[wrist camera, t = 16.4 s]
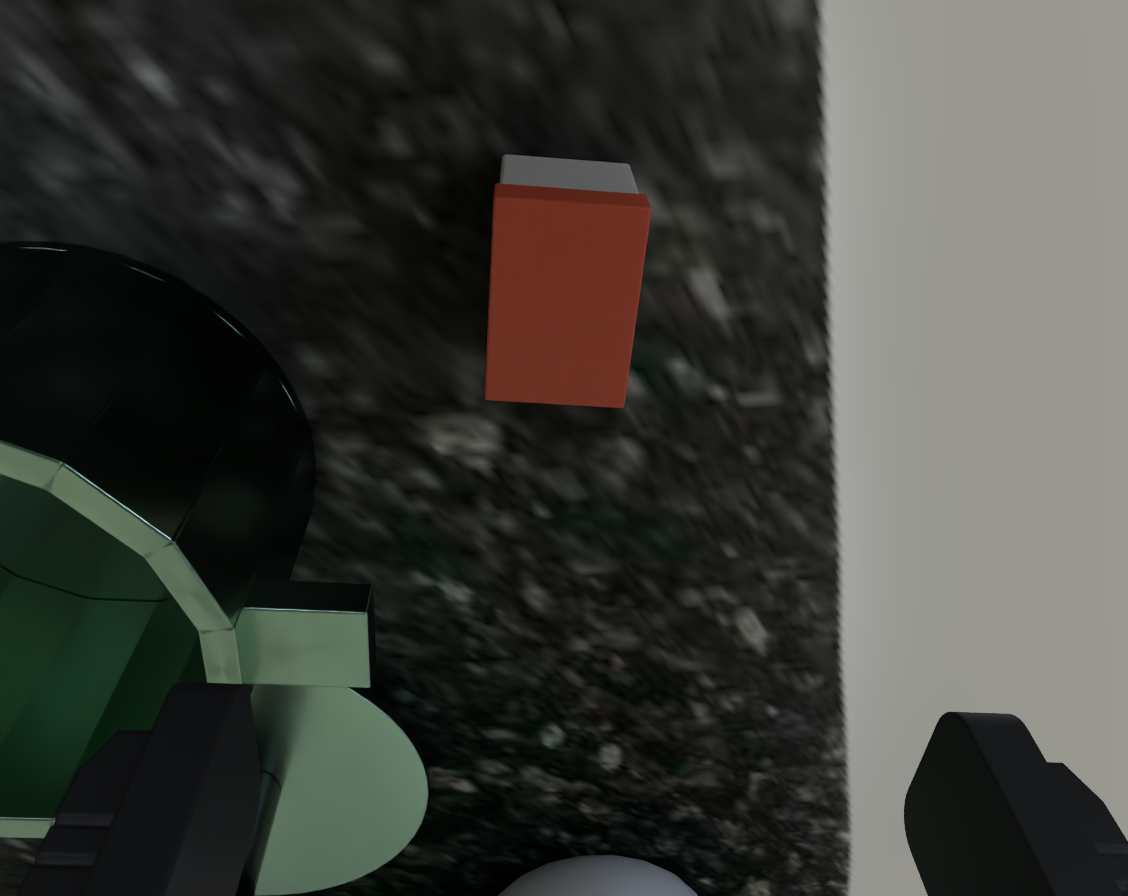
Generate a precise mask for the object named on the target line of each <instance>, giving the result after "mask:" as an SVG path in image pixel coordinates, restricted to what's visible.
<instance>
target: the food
mask: <svg viewBox="0 0 1128 896" xmlns="http://www.w3.org/2000/svg"><path fill="white" fill-rule="evenodd" d="M650 216H651V207H650V204H649V201H648V198H647V195H645V194H639V193H638V190H637V186H636V183H635V180H634V177H633V174H632V171H631V168H630V165H628V164H625V163H612V162H599V161H586V160H573V159H560V158H547V157H534V156H521V155H508V154H506V155H503V157H502V164H501V175H500V183H497V184H495V188H494V198H493V219H492V242H491V264H490V287H489V309H488V332H487V354H486V377H485V400H494V401H511V402H529V403H546V404H563V405H580V406H598V407H615V408H623V407H624V404H625V397H626V389H627V382H628V375H629V368H630V360H631V353H632V346H633V339H634V332H635V324H636V317H637V310H638V303H639V296H640V288H641V281H642V274H643V267H644V260H645V252H646V245H647V238H648V231H649V224H650Z"/></svg>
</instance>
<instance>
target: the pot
mask: <svg viewBox="0 0 1128 896" xmlns="http://www.w3.org/2000/svg"><path fill="white" fill-rule="evenodd" d="M314 486H315V455H314V448H313V441H312V436H311V432H310V429H309V426H308V423H307V419H306V416H305V413H304V411H303V408H302V406H301V404H300V402H299V400H298V398H297V396H296V393H295V391H294V389H293V387H292V386H291V384H290V382H289V381H288V379H287V378H286V376H285V375H284V373H283V371H282V370H281V368H280V367H279V365H278V364H277V362H276V361H275V360H274V359H273V357H272V356H271V355H270V354H269V353H268V351H267V350H266V349H265V348H264V346H263V345H262V344H261V343H260V342H259V340H258V339H257V338H256V337H255V336H253V335H252V334H251V333H250V332H249V331H248V330H247V329H246V328H245V327H244V326H243V325H242V324H241V323H240V322H239V321H238V320H237V319H236V318H235V317H233V316H232V315H231V314H229V313H228V312H227V311H226V310H224V309H223V308H222V307H220V306H219V305H218V304H217V303H215V302H214V301H213V300H211V299H210V298H209V297H207V296H205V295H204V294H202V293H201V292H199V291H197V290H196V289H194V288H192V287H191V286H189V285H188V284H186V283H184V282H183V281H181V280H179V279H177V278H175V277H173V276H171V275H169V274H167V273H165V272H162V271H160V270H158V269H156V268H154V267H152V266H150V265H147V264H144V263H142V262H139V261H136V260H133V259H130V258H128V257H125V256H122V255H119V254H116V253H112V252H108V251H103V250H99V249H95V248H91V247H87V246H81V245H73V244H65V243H57V242H31V241H17V242H8V243H0V837H5V838H45V836H46V834H47V832H48V830H49V828H50V826H53V825H54V823H55V816H56V814H57V812H58V810H59V808H60V806H61V804H62V802H63V800H64V798H65V796H66V794H67V792H68V789H69V787H70V785H71V783H72V781H73V779H74V777H75V775H76V773H77V771H78V769H79V768H80V767H81V766H82V765H83V764H85V763H86V762H87V761H88V760H89V759H90V758H91V757H92V756H93V755H94V754H95V753H96V752H97V751H98V750H99V749H100V748H101V747H102V746H103V745H104V744H105V743H106V742H107V741H108V740H109V739H110V738H111V737H112V736H113V735H114V734H115V733H116V732H117V731H118V730H135V731H151V730H152V727H153V725H154V723H155V721H156V718H157V716H158V714H159V711H160V709H161V707H162V705H163V702H164V700H165V698H166V696H167V694H168V692H169V690H170V688H171V687H172V686H173V685H174V684H175V683H176V682H202V683H229V684H245V685H247V687H248V689H249V692H250V696H251V693H252V690H253V687H254V684H270V685H299V686H328V687H356V688H370V686H371V682H372V677H373V671H374V666H375V661H376V642H375V613H374V587H373V585H372V584H351V583H328V582H304V581H289V579H290V576H291V573H292V570H293V567H294V564H295V561H296V558H297V555H298V552H299V549H300V546H301V543H302V540H303V537H304V534H305V531H306V527H307V524H308V521H309V518H310V515H311V512H312V509H313V506H314Z"/></svg>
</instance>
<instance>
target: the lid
mask: <svg viewBox="0 0 1128 896" xmlns="http://www.w3.org/2000/svg"><path fill="white" fill-rule="evenodd" d="M250 698H251V705H252V712H253V720H254V727H255V734H256V742H257V749H258V756H259V764H260V772H261V789H260V800H259V808H258V814H257V819H256V824H255V828H254V832H253V835H252V839H251V842H250V846H249V849H248V853H247V856H246V860H245V863H244V867H243V870H242V874H241V877H240V881H239V884H238V888H237V891H236V895H235V896H254V895H286V894H297V893H305V892H311V891H316V890H322V889H326V888H330V887H333V886H337V885H341V884H344V883H347V882H349V881H352V880H355V879H357V878H360V877H362V876H364V875H366V874H368V873H370V872H372V871H374V870H376V869H378V868H379V867H381V866H382V865H384V864H385V863H387V862H388V861H390V860H391V859H393V858H394V857H395V856H396V855H397V854H398V853H399V852H400V851H402V850H403V849H404V848H405V847H406V845H407V844H408V843H409V842H410V841H411V839H412V838H413V837H414V836H415V834H416V832H417V830H418V829H419V827H420V825H421V823H422V821H423V818H424V815H425V812H426V809H427V804H428V795H429V785H430V782H429V771H428V766H427V763H426V759H425V756H424V753H423V750H422V748H421V747H420V745H419V743H418V741H417V739H416V737H415V735H414V734H413V732H412V731H411V730H410V728H409V727H408V725H407V724H406V723H405V721H404V720H403V719H402V718H401V717H400V716H399V715H398V714H397V713H396V712H395V711H394V710H393V709H392V708H391V707H390V706H389V705H388V704H386V703H385V702H384V701H383V700H381V699H380V698H379V697H378V696H376V695H375V694H374V693H373V692H371V691H370V690H368V689H366V688H356V687H328V686H299V685H270V684H254V687H253V690H252V693H251V696H250Z"/></svg>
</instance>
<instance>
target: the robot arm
mask: <svg viewBox="0 0 1128 896" xmlns="http://www.w3.org/2000/svg"><path fill="white" fill-rule="evenodd" d="M260 789H261V772H260V764H259V756H258V749H257V742H256V734H255V727H254V720H253V712H252V705H251V698H250V692H249V689H248V687H247V685H245V684H229V683H202V682H176V683H175V684H174V685H173V686H172V687H171V688H170V690H169V692H168V694H167V696H166V698H165V700H164V702H163V705H162V707H161V709H160V711H159V714H158V716H157V718H156V721H155V723H154V725H153V727H152V730H151V731H135V730H118V731H117V732H116V733H115V734H114V735H113V736H112V737H111V738H110V739H109V740H108V741H107V742H106V743H105V744H104V745H103V746H102V747H101V748H100V749H99V750H98V751H97V752H96V753H95V754H94V755H93V756H92V757H91V758H90V759H89V760H88V761H87V762H86V763H85V764H83V765H82V766H81V767H80V768H79V769H78V771H77V773H76V775H75V777H74V779H73V781H72V783H71V785H70V787H69V789H68V792H67V794H66V796H65V798H64V800H63V802H62V804H61V806H60V808H59V810H58V812H57V814H56V816H55V823H54V825H53V826H50V828H49V830H48V832H47V834H46V836H45V838H44V840H43V842H42V844H41V846H40V848H39V850H38V852H37V854H36V860H35V863H34V865H33V866H30V868H29V870H28V872H27V874H26V876H25V878H24V880H23V882H22V884H21V886H20V888H19V890H18V892H17V894H16V896H235V895H236V891H237V888H238V884H239V881H240V877H241V874H242V870H243V867H244V863H245V860H246V856H247V853H248V849H249V846H250V842H251V839H252V835H253V832H254V828H255V824H256V819H257V814H258V808H259V800H260ZM904 823H905V831H906V837H907V841H908V844H909V847H910V850H911V853H912V856H913V858H914V861H915V863H916V866H917V869H918V871H919V874H920V876H921V879H922V881H923V884H924V887H925V889H926V892H927V894H928V896H1128V841H1127V840H1126V838H1125V836H1124V835H1123V833H1122V832H1121V830H1120V828H1119V827H1118V825H1117V823H1116V822H1115V820H1114V818H1113V817H1112V815H1111V814H1110V812H1109V810H1108V809H1107V807H1106V805H1105V804H1104V802H1103V801H1102V800H1101V799H1100V798H1099V797H1098V796H1097V795H1096V794H1094V792H1092V791H1091V790H1090V789H1089V788H1088V787H1087V786H1086V785H1085V784H1084V783H1083V782H1082V781H1081V780H1080V779H1079V778H1078V777H1077V776H1076V775H1075V774H1074V773H1073V772H1071V771H1070V770H1069V769H1068V768H1067V767H1066V766H1065V765H1064V764H1063V763H1049V762H1046V760H1045V758H1044V757H1043V755H1042V753H1041V751H1040V750H1039V748H1038V746H1037V744H1036V743H1035V741H1034V739H1033V738H1032V736H1031V734H1030V732H1029V731H1028V729H1027V727H1026V726H1025V724H1024V723H1023V722H1022V721H1021V720H1020V719H1019V718H1017V717H1016V716H1014V715H1012V714H996V713H968V712H947V713H945V714H944V715H942V717H941V718H940V719H939V721H938V723H937V725H936V727H935V730H934V732H933V734H932V737H931V739H930V741H929V743H928V746H927V748H926V750H925V753H924V755H923V757H922V759H921V762H920V764H919V766H918V768H917V771H916V773H915V775H914V778H913V780H912V782H911V785H910V787H909V789H908V792H907V794H906V799H905V806H904Z"/></svg>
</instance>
